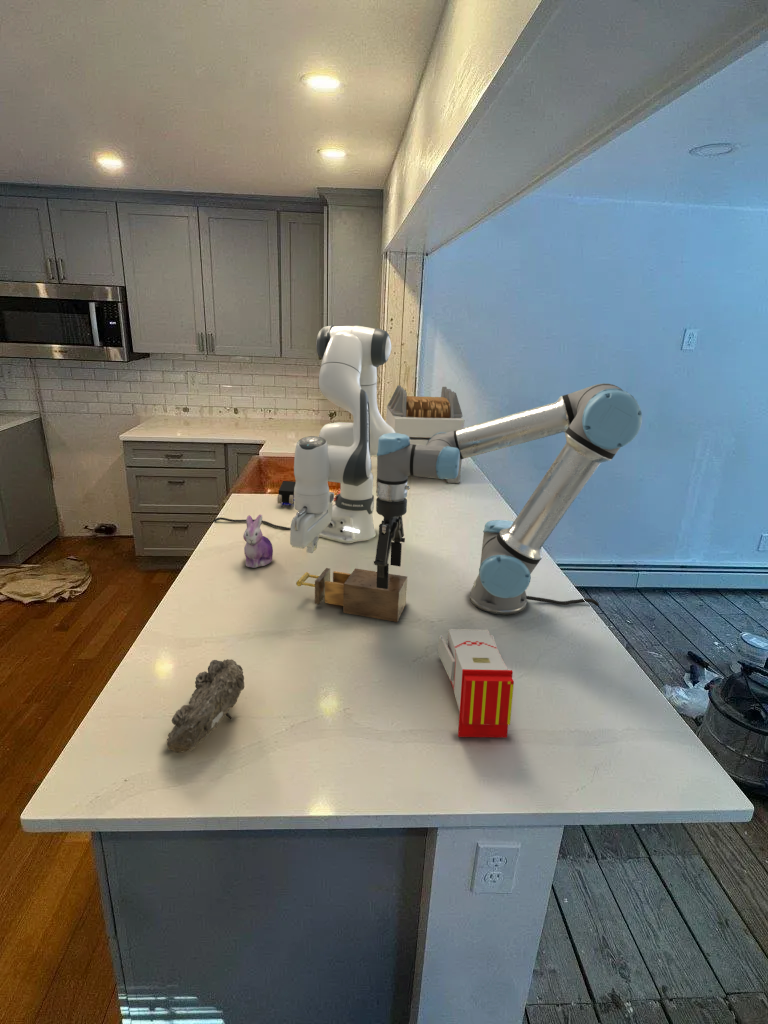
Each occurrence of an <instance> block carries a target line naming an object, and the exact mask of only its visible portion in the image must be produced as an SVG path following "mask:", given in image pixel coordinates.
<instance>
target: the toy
mask: <svg viewBox="0 0 768 1024" xmlns="http://www.w3.org/2000/svg"><path fill="white" fill-rule="evenodd" d="M446 640H447V643H446V641H445V639H444V636H443V635H442V634H439V637H438V646H437V656H438V657H439V659H440V661H441V663H442V666H443V668H444V670H445V672H446V674H447V677H448V679H449V681H450V684H451V687H452V690H453V693H454V697H455V701H456V705H457V708H458V711H459V714H458V715H459V716H458V730H457V731H458V732H457V737H458V738H508V731H509V726H510V725H511V717H512V707H513V697H514V696H513V695H514V684H515V680H514V679H513V673H514V671H513V670H512V669H508V667H507V665H506V662H505V661H504V659H503V658H502V655H501V653H500V651H499V649H498V647H497V643H496V639H495V637H494V635H493V634H491V632H490V631H489V629H467V628H466V629H465V628H463V629H461V628H460V629H459V628H448V630H447V639H446Z"/></svg>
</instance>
